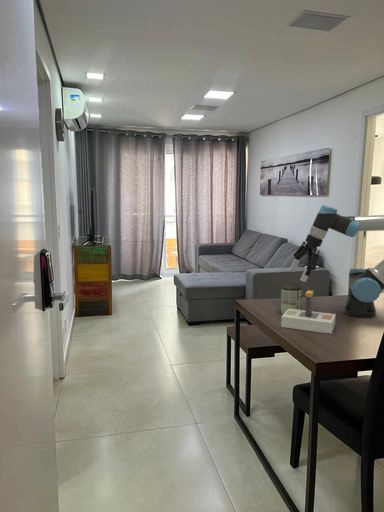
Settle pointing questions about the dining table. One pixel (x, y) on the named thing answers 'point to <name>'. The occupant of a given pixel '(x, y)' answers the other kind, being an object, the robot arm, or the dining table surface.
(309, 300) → the breaker lever
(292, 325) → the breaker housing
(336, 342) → the dining table surface
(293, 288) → the coffee can
